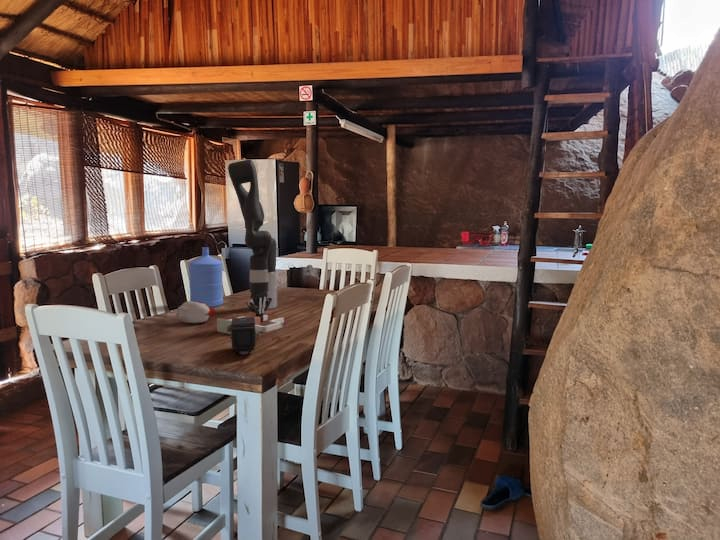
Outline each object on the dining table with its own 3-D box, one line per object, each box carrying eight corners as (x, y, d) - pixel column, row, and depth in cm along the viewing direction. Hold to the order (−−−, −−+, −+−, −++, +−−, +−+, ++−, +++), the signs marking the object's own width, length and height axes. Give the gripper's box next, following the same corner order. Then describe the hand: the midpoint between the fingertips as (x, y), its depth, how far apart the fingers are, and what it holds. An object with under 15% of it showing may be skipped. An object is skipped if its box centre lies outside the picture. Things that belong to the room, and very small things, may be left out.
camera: (227, 350, 188) (227, 357, 173) (226, 317, 187) (226, 322, 173) (258, 348, 190) (261, 355, 175) (258, 315, 190) (260, 320, 175)
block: (248, 325, 221) (248, 315, 221) (260, 326, 219) (260, 317, 218) (239, 327, 216) (238, 318, 215) (250, 329, 213) (250, 319, 213)
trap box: (256, 317, 235) (256, 306, 235) (294, 324, 223) (294, 312, 223) (207, 329, 213) (207, 316, 213) (246, 337, 201) (246, 324, 201)
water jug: (214, 308, 255) (213, 249, 252) (183, 306, 259) (182, 248, 255) (228, 302, 271) (227, 246, 267) (199, 301, 274) (198, 245, 270)
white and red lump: (174, 322, 222) (202, 320, 235) (193, 325, 216) (221, 323, 229) (175, 300, 222) (203, 299, 235) (195, 303, 216) (222, 302, 229)
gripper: (263, 277, 227) (264, 318, 229) (240, 281, 216) (241, 324, 218) (277, 279, 223) (277, 320, 225) (254, 283, 212) (254, 326, 214)
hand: (259, 322), depth 221 cm, fingers closed
